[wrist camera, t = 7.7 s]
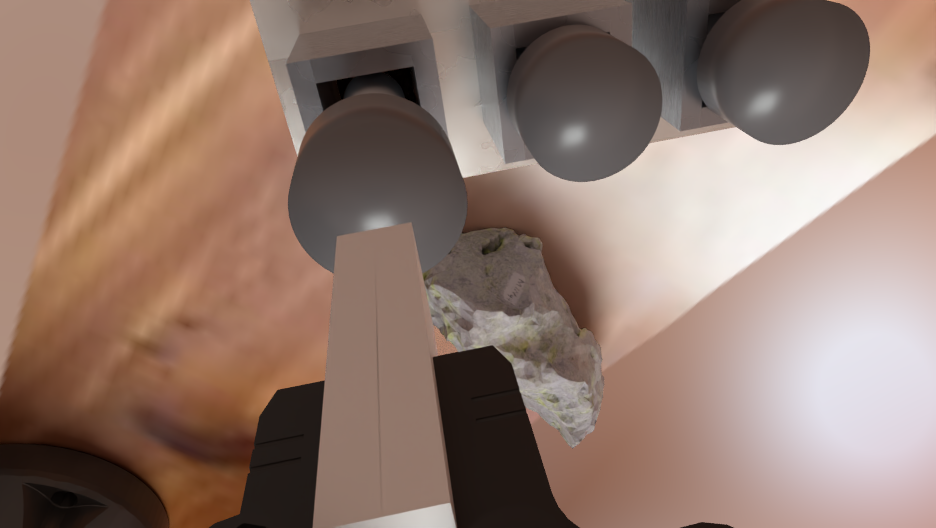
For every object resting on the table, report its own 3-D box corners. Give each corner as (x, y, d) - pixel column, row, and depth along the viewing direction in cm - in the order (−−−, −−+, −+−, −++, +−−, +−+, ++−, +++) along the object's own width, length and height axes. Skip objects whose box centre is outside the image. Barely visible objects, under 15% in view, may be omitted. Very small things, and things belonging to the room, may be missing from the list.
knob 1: (331, 166, 25) (315, 298, 17) (299, 52, 22) (263, 142, 14) (441, 146, 25) (477, 266, 17) (421, 31, 23) (453, 107, 15)
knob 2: (482, 108, 29) (528, 193, 20) (469, 4, 26) (516, 54, 18) (576, 91, 29) (659, 168, 21) (572, -14, 26) (665, 28, 18)
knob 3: (625, 82, 29) (727, 155, 21) (626, -23, 26) (741, 15, 18) (717, 65, 29) (853, 131, 21) (726, -40, 27) (884, -11, 19)
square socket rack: (315, 188, 30) (303, 260, 24) (249, -33, 25) (213, -9, 19) (738, 109, 31) (826, 160, 25) (763, -117, 26) (881, -120, 20)
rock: (633, 346, 39) (679, 423, 33) (542, 405, 41) (571, 489, 35) (490, 178, 31) (517, 241, 26) (386, 259, 33) (390, 335, 27)
